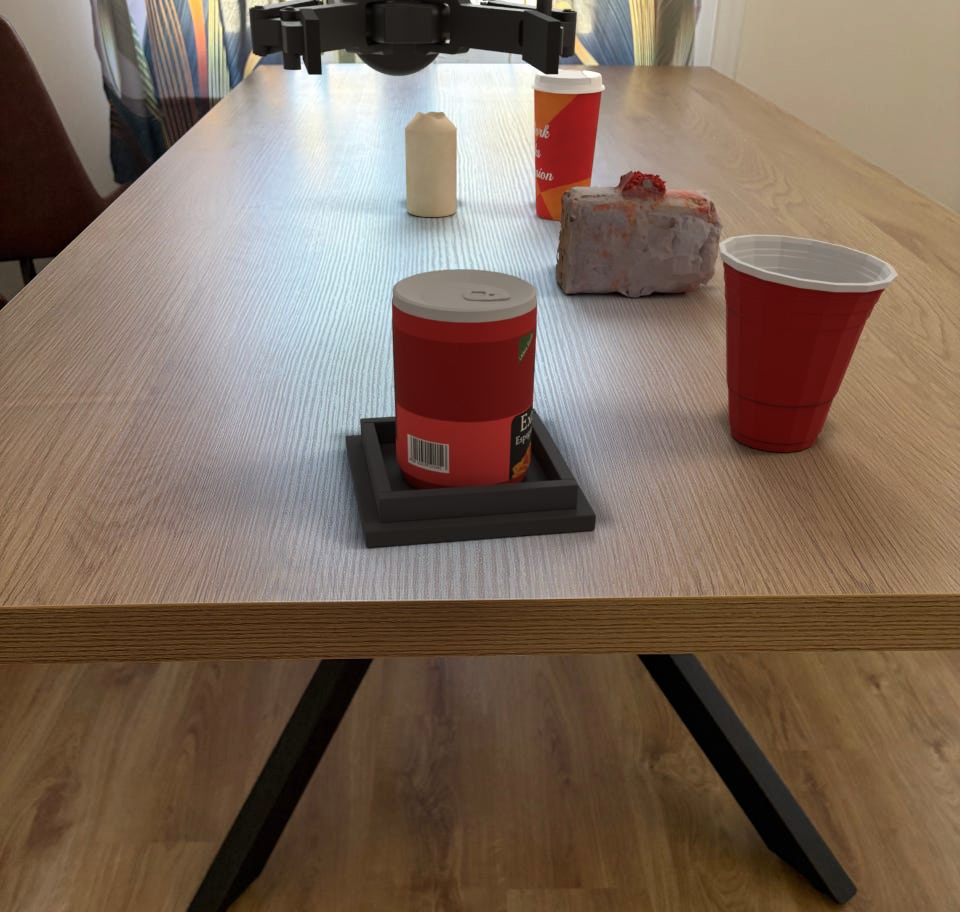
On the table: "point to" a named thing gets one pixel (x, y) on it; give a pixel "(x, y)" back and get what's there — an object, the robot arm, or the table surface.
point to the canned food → (463, 377)
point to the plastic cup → (792, 332)
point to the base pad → (461, 495)
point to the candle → (431, 165)
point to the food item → (637, 238)
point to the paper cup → (564, 135)
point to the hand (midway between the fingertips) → (435, 48)
